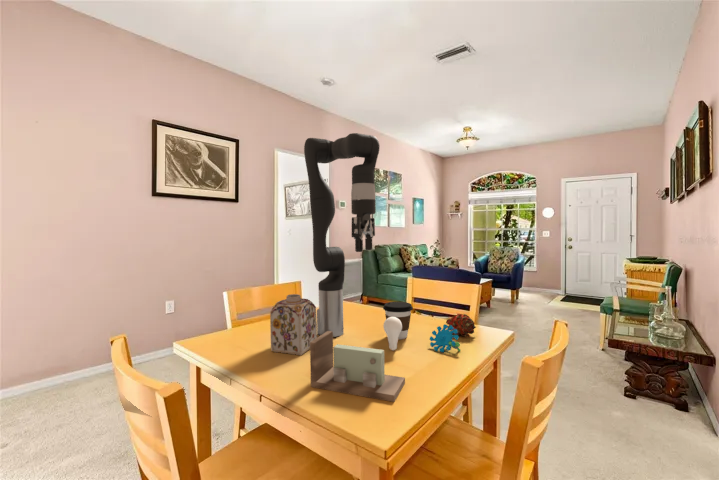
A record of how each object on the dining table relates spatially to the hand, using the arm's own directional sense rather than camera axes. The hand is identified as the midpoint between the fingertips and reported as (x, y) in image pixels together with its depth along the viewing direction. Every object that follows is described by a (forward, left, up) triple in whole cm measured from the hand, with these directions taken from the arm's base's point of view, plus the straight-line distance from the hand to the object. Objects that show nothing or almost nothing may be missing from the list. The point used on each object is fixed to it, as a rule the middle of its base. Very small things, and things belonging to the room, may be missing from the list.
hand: (364, 250), depth 107 cm
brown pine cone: (+26, +31, -33) cm, 52 cm away
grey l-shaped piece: (+6, -20, -33) cm, 39 cm away
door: (+6, -20, -32) cm, 38 cm away
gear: (+23, +13, -33) cm, 43 cm away
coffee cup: (+5, +21, -33) cm, 40 cm away
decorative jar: (-25, -2, -33) cm, 42 cm away
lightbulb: (+7, +7, -33) cm, 35 cm away
